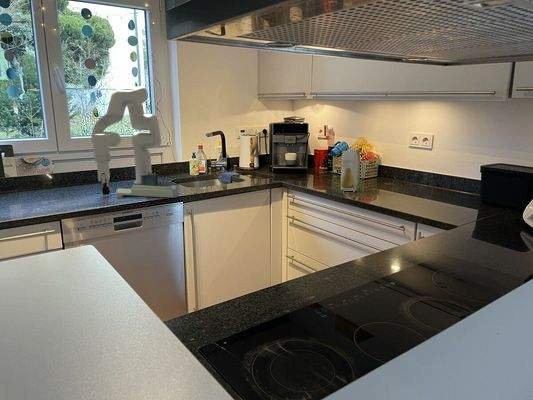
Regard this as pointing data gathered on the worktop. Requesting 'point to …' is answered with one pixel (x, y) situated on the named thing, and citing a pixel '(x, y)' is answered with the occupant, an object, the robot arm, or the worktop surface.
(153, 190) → the lane
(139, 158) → the robot arm
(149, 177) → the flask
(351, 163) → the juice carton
